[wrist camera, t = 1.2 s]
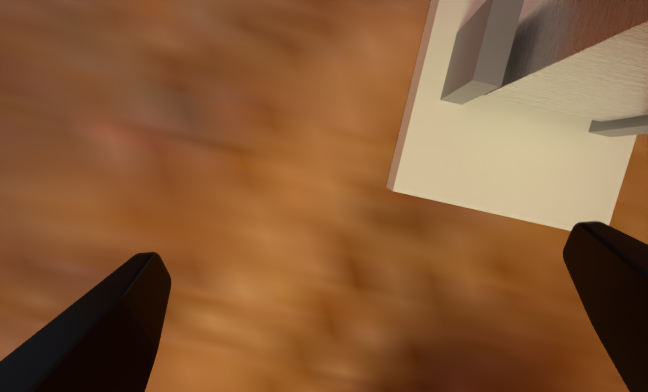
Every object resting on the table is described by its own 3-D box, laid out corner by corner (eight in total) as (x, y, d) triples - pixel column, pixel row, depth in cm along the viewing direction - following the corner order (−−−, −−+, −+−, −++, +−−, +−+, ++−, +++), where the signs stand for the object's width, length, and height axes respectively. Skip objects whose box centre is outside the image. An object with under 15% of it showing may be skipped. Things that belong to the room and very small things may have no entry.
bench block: (570, 228, 19) (688, 262, 13) (385, 187, 19) (409, 200, 13) (627, 37, 18) (788, -33, 12) (432, -5, 18) (482, -95, 12)
